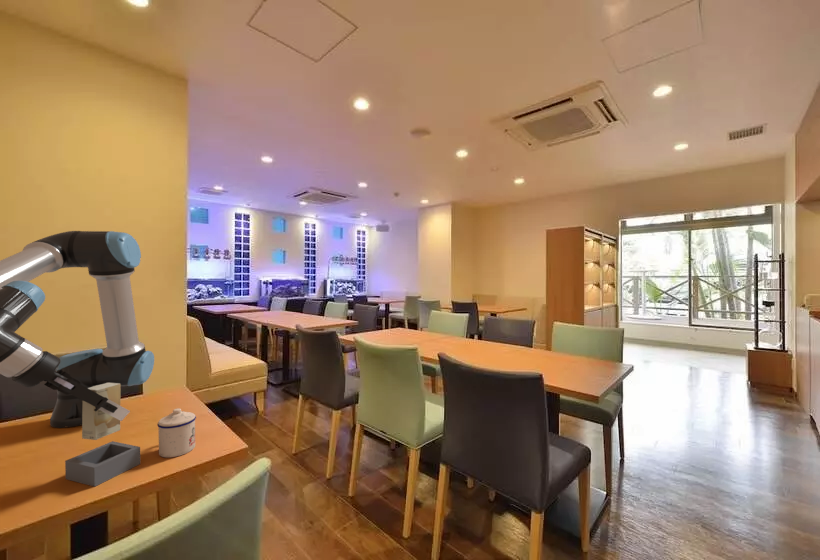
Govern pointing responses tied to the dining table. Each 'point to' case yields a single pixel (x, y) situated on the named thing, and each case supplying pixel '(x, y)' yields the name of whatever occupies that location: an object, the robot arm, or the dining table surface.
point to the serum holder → (102, 463)
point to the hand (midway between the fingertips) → (120, 413)
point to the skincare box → (100, 413)
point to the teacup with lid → (176, 433)
